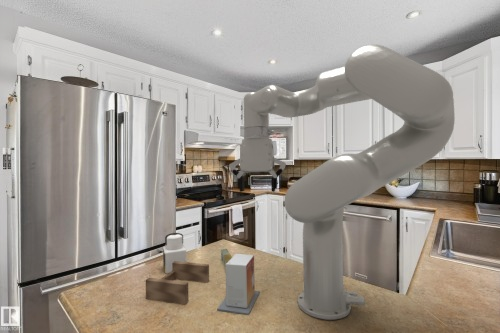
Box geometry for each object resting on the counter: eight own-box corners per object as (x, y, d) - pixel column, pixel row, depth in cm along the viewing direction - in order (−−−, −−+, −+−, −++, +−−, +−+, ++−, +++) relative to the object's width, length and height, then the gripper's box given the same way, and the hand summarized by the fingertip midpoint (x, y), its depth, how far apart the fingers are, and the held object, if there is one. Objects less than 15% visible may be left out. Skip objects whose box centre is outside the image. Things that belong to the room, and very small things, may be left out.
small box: (247, 309, 60) (246, 265, 60) (225, 306, 62) (224, 263, 62) (255, 293, 68) (254, 254, 68) (235, 290, 69) (235, 253, 70)
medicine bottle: (163, 266, 89) (162, 233, 89) (183, 263, 92) (183, 230, 92) (164, 274, 83) (164, 237, 83) (186, 270, 85) (186, 235, 85)
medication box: (220, 259, 95) (220, 249, 95) (227, 258, 96) (227, 248, 96) (227, 272, 84) (226, 260, 84) (235, 271, 84) (234, 259, 84)
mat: (259, 292, 69) (259, 291, 69) (248, 315, 58) (248, 313, 58) (232, 289, 71) (232, 287, 71) (217, 310, 61) (217, 308, 61)
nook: (209, 280, 77) (208, 264, 77) (185, 304, 64) (185, 284, 64) (175, 276, 80) (174, 261, 80) (145, 298, 67) (145, 280, 67)
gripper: (286, 135, 77) (287, 190, 77) (232, 137, 81) (233, 190, 81) (284, 131, 70) (285, 192, 69) (225, 134, 73) (226, 192, 73)
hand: (257, 191), depth 75 cm, fingers open, 9 cm apart
